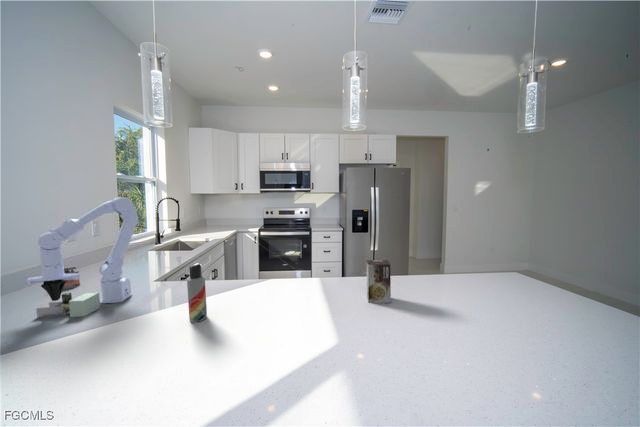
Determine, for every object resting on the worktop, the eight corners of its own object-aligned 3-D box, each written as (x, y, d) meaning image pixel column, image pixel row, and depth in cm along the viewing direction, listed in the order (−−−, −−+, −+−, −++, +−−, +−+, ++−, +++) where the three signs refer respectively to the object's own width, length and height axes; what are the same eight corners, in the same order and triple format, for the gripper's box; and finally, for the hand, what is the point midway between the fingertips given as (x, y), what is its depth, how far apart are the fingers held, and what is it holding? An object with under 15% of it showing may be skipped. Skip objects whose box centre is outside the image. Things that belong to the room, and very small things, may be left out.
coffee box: (388, 296, 107) (388, 259, 106) (390, 303, 101) (391, 264, 99) (366, 296, 108) (366, 259, 106) (367, 302, 101) (367, 263, 100)
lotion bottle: (200, 323, 87) (196, 267, 85) (185, 322, 88) (182, 266, 86) (210, 315, 93) (207, 262, 91) (196, 314, 94) (193, 261, 92)
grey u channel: (76, 309, 99) (75, 300, 99) (64, 316, 94) (63, 307, 93) (51, 310, 98) (50, 302, 98) (37, 317, 93) (36, 308, 92)
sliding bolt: (93, 307, 98) (91, 291, 98) (86, 310, 95) (85, 294, 95) (68, 308, 98) (66, 292, 97) (60, 312, 94) (58, 296, 94)
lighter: (57, 290, 118) (55, 270, 117) (56, 289, 120) (54, 268, 120) (81, 285, 125) (79, 265, 124) (79, 284, 127) (77, 264, 126)
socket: (100, 307, 101) (99, 292, 100) (85, 316, 93) (83, 300, 93) (86, 307, 100) (85, 293, 100) (70, 317, 93) (68, 301, 92)
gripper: (82, 260, 100) (85, 293, 101) (35, 263, 96) (39, 298, 97) (71, 264, 93) (75, 300, 95) (20, 268, 89) (24, 305, 90)
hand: (56, 299), depth 95 cm, fingers closed
